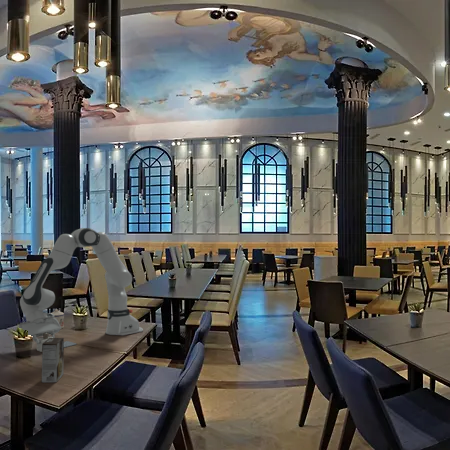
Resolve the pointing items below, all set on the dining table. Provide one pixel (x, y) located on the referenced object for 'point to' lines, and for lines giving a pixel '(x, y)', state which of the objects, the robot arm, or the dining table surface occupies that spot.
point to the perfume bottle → (43, 339)
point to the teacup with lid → (59, 317)
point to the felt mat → (68, 344)
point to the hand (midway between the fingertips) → (46, 341)
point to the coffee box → (52, 359)
